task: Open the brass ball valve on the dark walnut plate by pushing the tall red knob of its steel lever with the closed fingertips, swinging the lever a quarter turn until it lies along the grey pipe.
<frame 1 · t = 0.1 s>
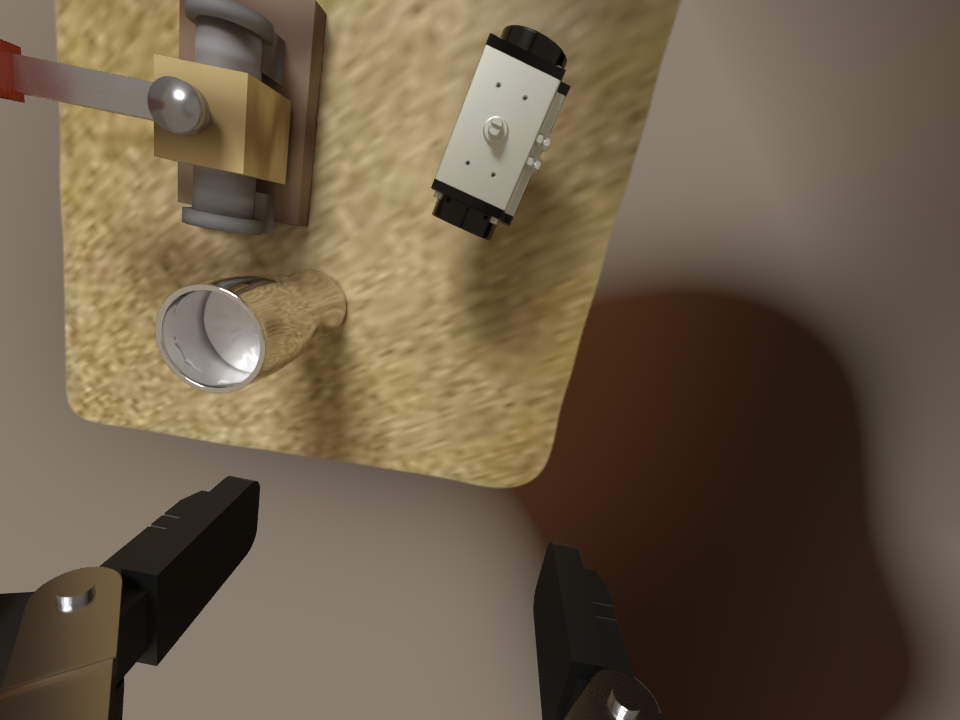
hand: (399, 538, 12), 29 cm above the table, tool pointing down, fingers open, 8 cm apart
pneumatic valve: (502, 164, 37), on the table
valve lever: (57, 78, 25), point 12 cm above the table, hinge at 0.0°
valve pipe: (266, 142, 37), on the table
beer glass: (314, 303, 41), on the table
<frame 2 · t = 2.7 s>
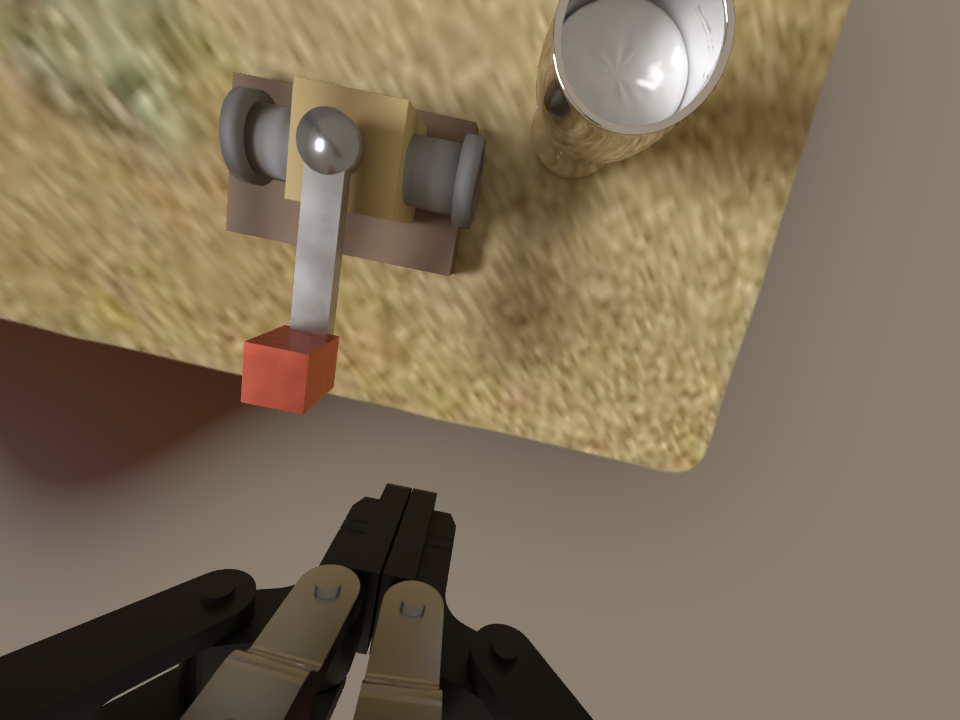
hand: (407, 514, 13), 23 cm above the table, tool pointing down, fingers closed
valve lever: (305, 263, 22), point 12 cm above the table, hinge at 0.0°
valve pipe: (384, 173, 32), on the table
beer glass: (575, 131, 31), on the table
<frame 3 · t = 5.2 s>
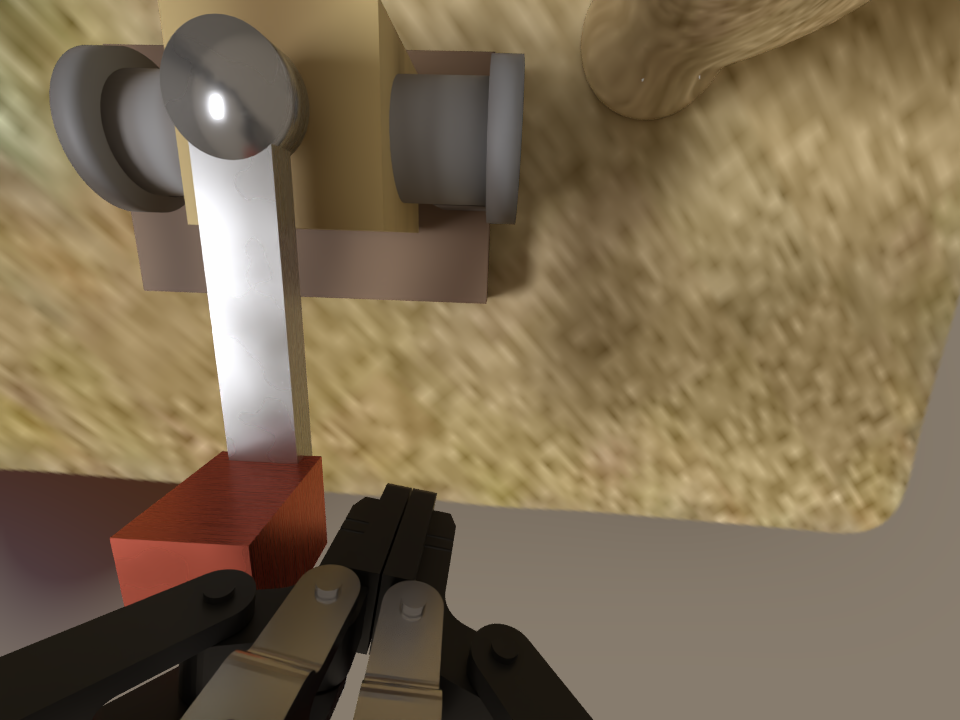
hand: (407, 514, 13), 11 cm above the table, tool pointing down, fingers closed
valve lever: (223, 343, 11), point 12 cm above the table, hinge at 0.1°, touching gripper
valve pipe: (363, 164, 21), on the table
beer glass: (650, 44, 19), on the table
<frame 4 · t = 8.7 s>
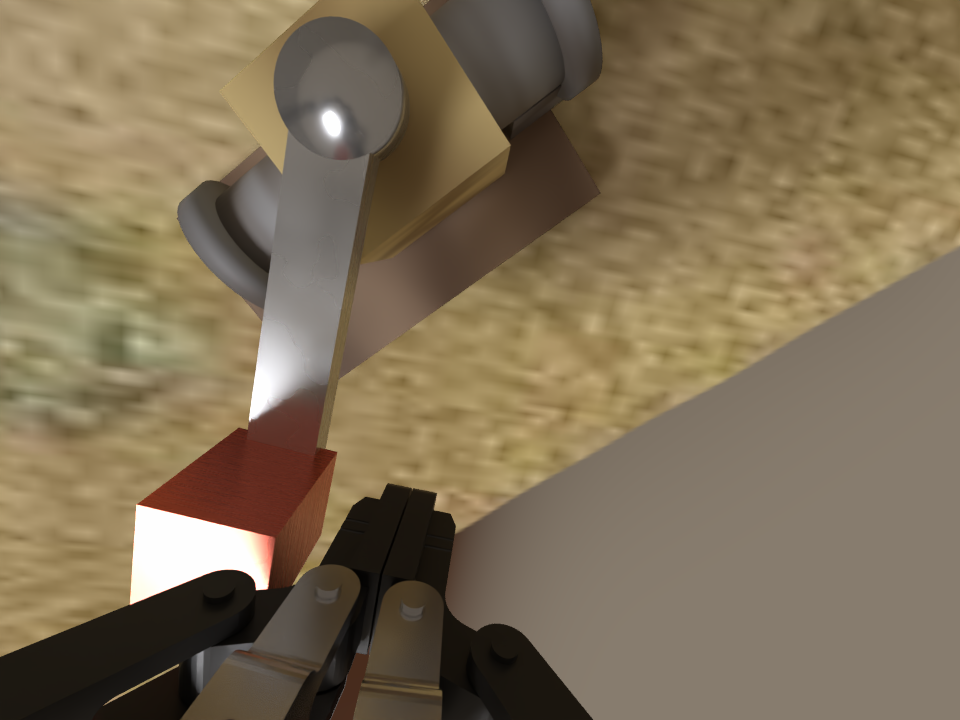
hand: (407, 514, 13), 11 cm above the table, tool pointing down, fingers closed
valve lever: (280, 333, 11), point 12 cm above the table, hinge at 49.9°, touching gripper
valve pipe: (414, 164, 21), on the table
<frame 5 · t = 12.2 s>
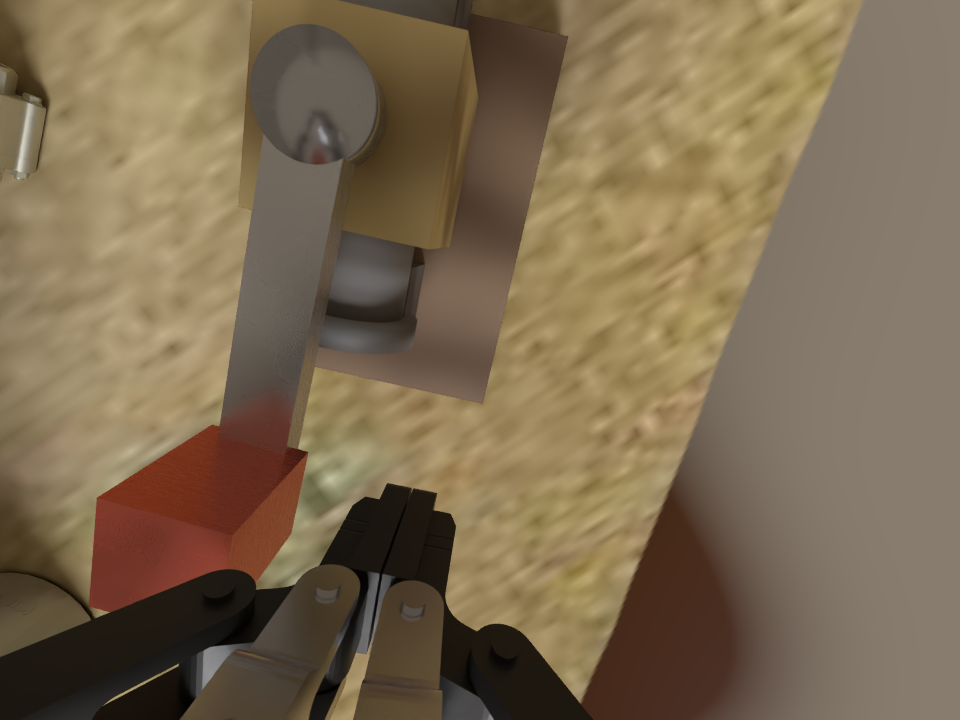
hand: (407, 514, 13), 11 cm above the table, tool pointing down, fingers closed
pneumatic valve: (7, 124, 22), on the table
valve lever: (249, 333, 11), point 12 cm above the table, hinge at 94.2°
valve pipe: (406, 169, 21), on the table
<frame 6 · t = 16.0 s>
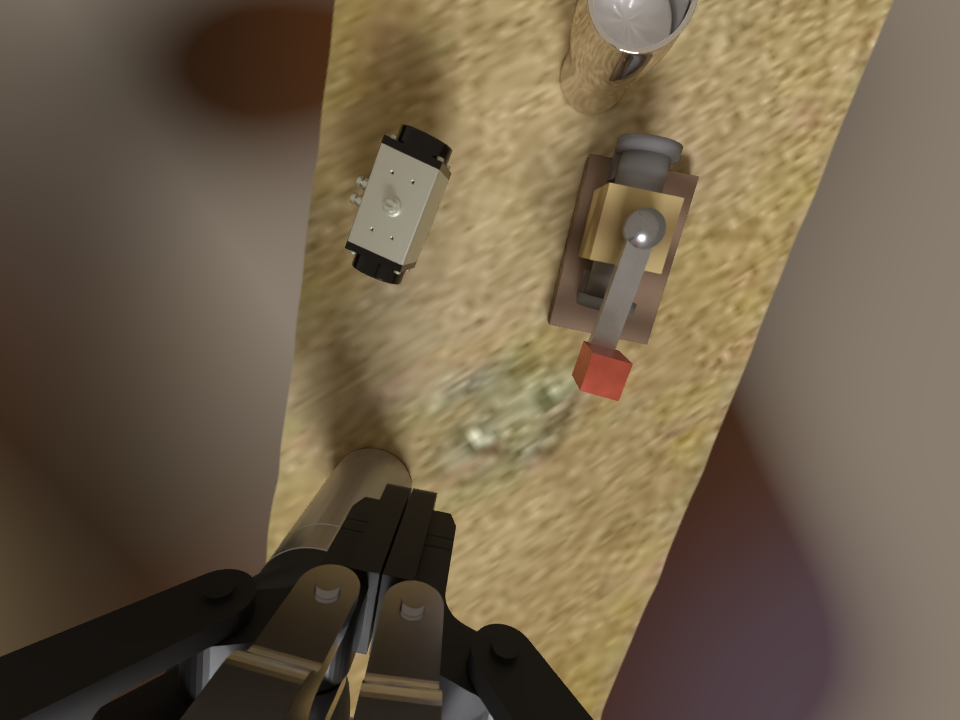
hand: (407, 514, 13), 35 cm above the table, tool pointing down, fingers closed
pneumatic valve: (414, 211, 45), on the table
valve lever: (622, 304, 34), point 12 cm above the table, hinge at 94.2°
valve pipe: (611, 231, 44), on the table
beer glass: (592, 78, 41), on the table
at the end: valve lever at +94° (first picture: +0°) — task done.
